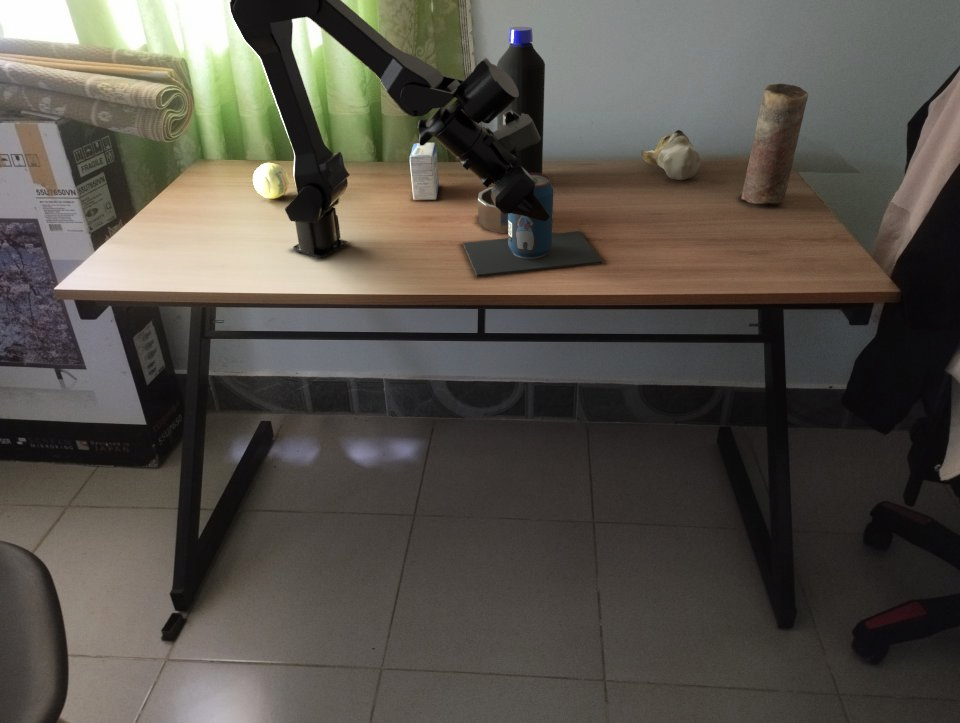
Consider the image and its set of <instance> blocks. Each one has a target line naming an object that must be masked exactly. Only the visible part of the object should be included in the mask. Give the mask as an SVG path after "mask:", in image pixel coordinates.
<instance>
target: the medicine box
mask: <svg viewBox="0 0 960 723" xmlns="http://www.w3.org/2000/svg"><path fill="white" fill-rule="evenodd" d="M409 165H410V166H409V167H410V178H411V189H412V190H411V191H412V199H413V200H414V201H436V200H437V196H438V192H439V185H440V184H439V183H440V182H439V167H438V166H439V165H438V152H437V143H436V142H427V143H426V144H425V145H423V146H421V145H420V144H419V142H416V143H413V146H412V149H411V153H410V156H409Z"/></svg>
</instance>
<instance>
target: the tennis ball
mask: <svg viewBox="0 0 960 723" xmlns="http://www.w3.org/2000/svg"><path fill="white" fill-rule="evenodd" d="M252 178H253V179H252V182H253V186H254V189H255V190H256V192H257V193H258V194H259V195H260V196H262V197H263V198H266V199H278V198H281V197H282V196H283V195H285V193H286V192H287V191H288V188H289V185H290V180H289V175H288V173H287V171H286V170H285V169H284V168H283V167H282V166H280V165H279V164H277V163H271V162H266V163H263V164H261V165H260V166H259V167H257V168H256V170H254V173H253V176H252Z"/></svg>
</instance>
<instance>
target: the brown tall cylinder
mask: <svg viewBox="0 0 960 723" xmlns="http://www.w3.org/2000/svg"><path fill="white" fill-rule="evenodd" d="M808 98H809V92H807V91H806V90H804V89H803V88H802V87H800V86H797V85H794V84H788V83H787V84H786V83H774V84H769V85H767V86H765V88H764V89H763V92H762V98H761V103H760V107H759V112H758V117H757V121H756V126H755V131H754V136H753V142H752V145H751V151H750V156H749V160H748V165H747V169H746V173H745V179H744V182H743V187H742V193H741V198H740V199H741V200H742V201H746V202H748V203H749V204H751V205H764V206H776V205H779V204H780V203H782V202H783V201H784V200H785V198H786V194H787V190H788V185H789V182H790V177H791V172H792V168H793V163H794V159H795V154H796V150H797V145H798V141H799V137H800V131H801V128H802V123H803V120H804V116H805V110H806V106H807V102H808Z"/></svg>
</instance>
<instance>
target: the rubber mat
mask: <svg viewBox="0 0 960 723" xmlns="http://www.w3.org/2000/svg"><path fill="white" fill-rule="evenodd" d="M462 245H463V248H464V250H465V253H466V255H467V257H468V260H469V262H470V264H471V266H472V269H473V271H474V273H475V275H476V277H477V278H480V277H490V276H499V275H510V274H516V273H517V274H518V273H526V272H527V273H528V272H535V271H545V270H555V269H564V268H570V267H571V268H572V267H580V266H590V265H600V264H603V260H602V258H601V257H600V256H599V255H598V253H597V252H596V251H595V249H594V248H593V247H592V246H591V244H590V243H589V241H588V240H587V239H586V238H585V237H584V235H583V234H582V233H581V231H580V230H575V231H565V232H557V233H552V245H551V248H550V249H549V251H548V252H547V254H546V255H544V256H543V257H540V258H536V259H525V258H520V257H517V256H515V255H514V254H513V252H512V251H511V249H510V247H509V245H508V237H507V238H498V239H488V240H479V241H468V242H463V243H462Z"/></svg>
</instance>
